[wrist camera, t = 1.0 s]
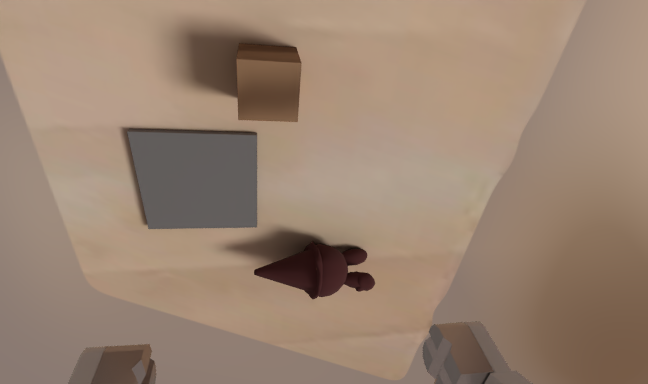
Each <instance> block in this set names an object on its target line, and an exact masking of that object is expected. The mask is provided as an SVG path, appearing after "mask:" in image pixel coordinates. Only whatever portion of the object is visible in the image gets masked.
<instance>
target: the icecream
mask: <svg viewBox="0 0 648 384" xmlns="http://www.w3.org/2000/svg"><path fill="white" fill-rule="evenodd" d="M366 258H367V253H366V251H364V250H363V249H350V250H347V251H344V252H343V253H341V252H340V251H339V250H337V249H335V248H333V247H331V246H327V245H323V244H317V245H315V244H314V242H313V241H312V242H311V243H310V244H309V245H308V246H307V247H306V248H305V251H303V252H301V253H298V254H295V255H293V256H290V257H288V258H285V259H282V260H280V261H277V262H274V263H272V264H269V265H266V266H263V267H261V268H258V269H256V270H255V271H254V274H255V275H257V276H260V277H263V278H266V279H270V280H273V281H276V282H279V283H283V284H286V285H289V286H292V287H296V288H299V289H302V290H304V291H305V292H306V293H308V294H309V296H310V297H311V298H312V299H315V298H317V297H318V296H319V297H325V296H330V295H332V294H334V293H335V292H337V291H338V290H339V289H340V288H341V287H342V285H343V284H345V285H347V286H349V287H352V288H355V289H356V291H363V290H366V291H368V290H370V289H372V288H373V286H374V285H375V281H374V279H373V277H372V276H371V275H370V274H368V273H363V272H350V273H348V266H349V265H358V264H360V263H362V262H364V261H365V260H366Z"/></svg>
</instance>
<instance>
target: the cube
mask: <svg viewBox="0 0 648 384" xmlns="http://www.w3.org/2000/svg"><path fill="white" fill-rule="evenodd" d="M236 61H237V91H238V120H257V121H286V122H298V107H299V92H300V77H301V61H300V57H299V54H298V51H297V48H296V47H283V46H269V45H255V44H240V43H239V48H238V53H237V59H236Z"/></svg>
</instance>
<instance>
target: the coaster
mask: <svg viewBox="0 0 648 384" xmlns="http://www.w3.org/2000/svg"><path fill="white" fill-rule="evenodd" d="M127 133H128V138H129V142H130V147H131V151H132V156H133V161H134V165H135V170H136V174H137V179H138V183H139V188H140V192H141V197H142V201H143V206H144V211H145V215H146V220H147V224H148V229H178V228H244V227H257V133H250V132H217V131H184V130H151V129H129V130H128V131H127Z"/></svg>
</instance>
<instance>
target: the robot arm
mask: <svg viewBox="0 0 648 384" xmlns="http://www.w3.org/2000/svg"><path fill="white" fill-rule="evenodd" d="M429 333H430V336H431V337H429V338H428V339H427V340H425V343H424V345H423V359H424V363H425V366H426V369H427V372H428V373H429V374H430V375H432V376H433V377H434V378H435V382H434V384H533V383H531V382H530V381H529V380H527V379H526V378H525V377H523V376H522V375H521V374H520V373H518V372H517V371H511V369H510V368H509V366H508V365H507V363H506V361H505V360H504V358H503V356H502V355H501V353H500V351H499V350H498V348H497V346H496V345H495V343H494V341H493V340H492V338H491V337H490V335H489V333H488V331H487V330H486V328H485V326H484V325H483V324H482V323H481V322H477V321H475V322H458V323H446V324H434V325H433V326H431V328H430V330H429ZM151 352H152V350H151V347H150V344H144V345H143V344H142V345H125V346H104V347H89V348H86V349H85V350H84V351H83V352H82V354H81V355H80V357H79V360H78V362H77V364H76V366H75V369H74V371H73V374H72V376H71V378H70V380H69V382H68V384H155V381H156V365H155V362H154V360H152V359H150V357H151Z"/></svg>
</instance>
